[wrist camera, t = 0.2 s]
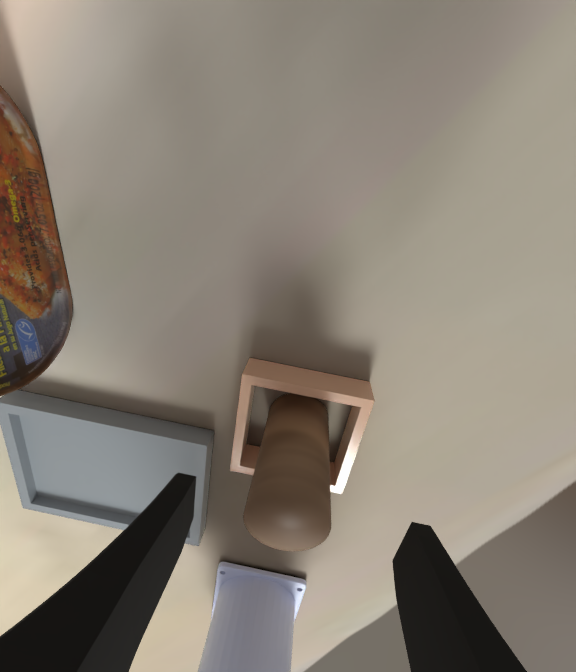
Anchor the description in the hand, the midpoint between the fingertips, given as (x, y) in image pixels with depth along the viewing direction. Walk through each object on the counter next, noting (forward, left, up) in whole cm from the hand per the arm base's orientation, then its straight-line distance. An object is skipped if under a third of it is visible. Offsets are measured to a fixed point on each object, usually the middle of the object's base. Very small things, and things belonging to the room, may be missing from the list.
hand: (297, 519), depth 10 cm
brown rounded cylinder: (-4, 0, -10) cm, 11 cm away
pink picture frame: (-4, 0, -10) cm, 11 cm away
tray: (-12, +13, -10) cm, 20 cm away
